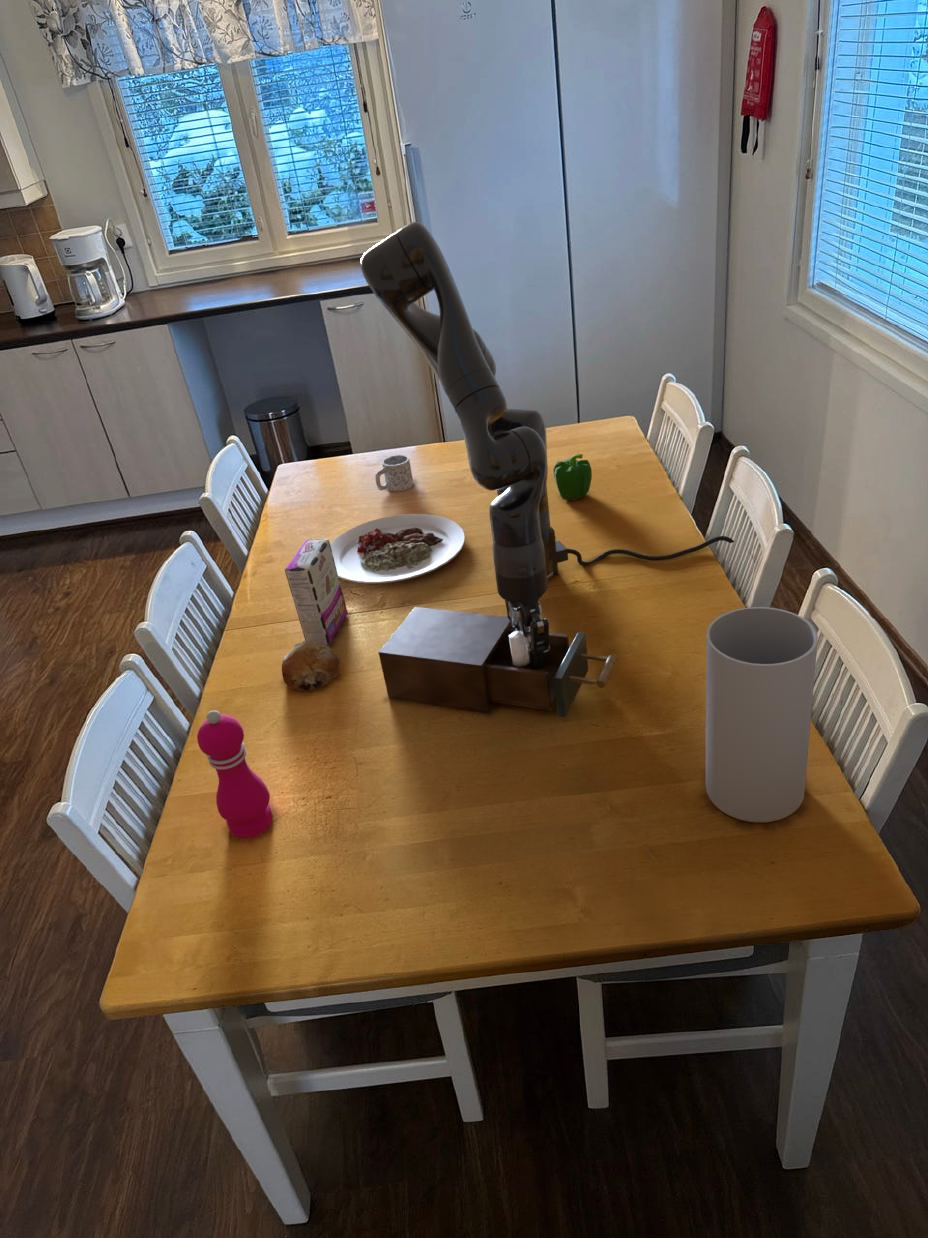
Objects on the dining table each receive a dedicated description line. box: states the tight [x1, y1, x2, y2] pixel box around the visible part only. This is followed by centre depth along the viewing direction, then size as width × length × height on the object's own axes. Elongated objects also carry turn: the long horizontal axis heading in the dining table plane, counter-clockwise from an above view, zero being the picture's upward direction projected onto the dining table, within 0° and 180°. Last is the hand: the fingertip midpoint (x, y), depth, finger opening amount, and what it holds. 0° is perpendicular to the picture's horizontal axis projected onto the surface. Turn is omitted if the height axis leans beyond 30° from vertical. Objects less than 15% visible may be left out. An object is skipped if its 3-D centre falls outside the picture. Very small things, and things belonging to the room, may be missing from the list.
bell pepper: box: [553, 453, 593, 501], centre depth 202 cm, size 8×8×10 cm
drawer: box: [484, 628, 618, 719], centre depth 142 cm, size 22×13×7 cm, turn 67°
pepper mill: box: [196, 709, 274, 840], centre depth 123 cm, size 7×7×20 cm
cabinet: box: [378, 606, 513, 715], centre depth 149 cm, size 18×14×9 cm
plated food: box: [330, 513, 466, 584], centre depth 192 cm, size 30×30×3 cm
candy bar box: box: [284, 538, 349, 646], centre depth 166 cm, size 11×5×16 cm, turn 168°
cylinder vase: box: [704, 606, 819, 824], centre depth 114 cm, size 12×12×25 cm
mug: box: [374, 454, 414, 492], centre depth 221 cm, size 10×7×7 cm
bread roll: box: [281, 641, 340, 692], centre depth 157 cm, size 10×10×8 cm
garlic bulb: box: [509, 631, 550, 667], centre depth 141 cm, size 6×6×5 cm
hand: (530, 657), depth 142 cm, fingers closed on garlic bulb, 5 cm apart
